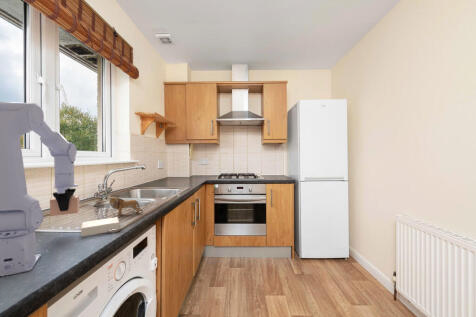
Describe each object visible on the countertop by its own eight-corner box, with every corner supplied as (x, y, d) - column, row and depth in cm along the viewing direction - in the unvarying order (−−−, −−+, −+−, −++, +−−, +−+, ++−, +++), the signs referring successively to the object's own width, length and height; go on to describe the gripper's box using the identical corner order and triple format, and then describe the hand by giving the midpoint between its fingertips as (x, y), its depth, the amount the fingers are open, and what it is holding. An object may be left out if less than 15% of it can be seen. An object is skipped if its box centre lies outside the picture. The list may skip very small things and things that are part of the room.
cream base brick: (119, 231, 83) (118, 222, 83) (81, 237, 77) (81, 228, 77) (117, 225, 90) (117, 217, 90) (82, 230, 84) (82, 222, 83)
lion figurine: (109, 217, 100) (108, 198, 99) (109, 214, 104) (109, 196, 104) (143, 212, 107) (142, 195, 107) (142, 210, 112) (141, 193, 111)
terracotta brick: (77, 212, 81) (77, 197, 81) (50, 216, 77) (49, 199, 77) (79, 210, 85) (79, 195, 85) (53, 213, 81) (52, 197, 80)
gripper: (74, 174, 76) (75, 212, 76) (80, 171, 89) (80, 204, 89) (48, 176, 73) (50, 215, 73) (58, 172, 85) (59, 206, 85)
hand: (65, 209), depth 81 cm, fingers closed on terracotta brick, 4 cm apart
